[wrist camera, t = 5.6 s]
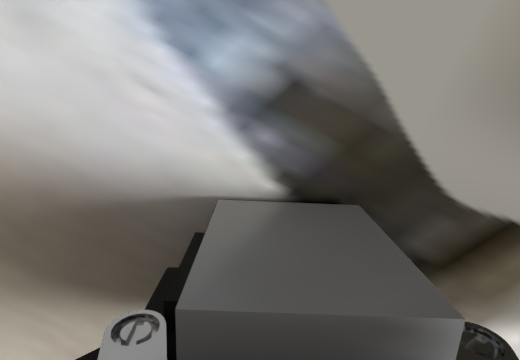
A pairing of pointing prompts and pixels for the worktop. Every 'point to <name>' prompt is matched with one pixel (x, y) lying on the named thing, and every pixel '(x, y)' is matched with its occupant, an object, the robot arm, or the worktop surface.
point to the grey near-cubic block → (308, 290)
